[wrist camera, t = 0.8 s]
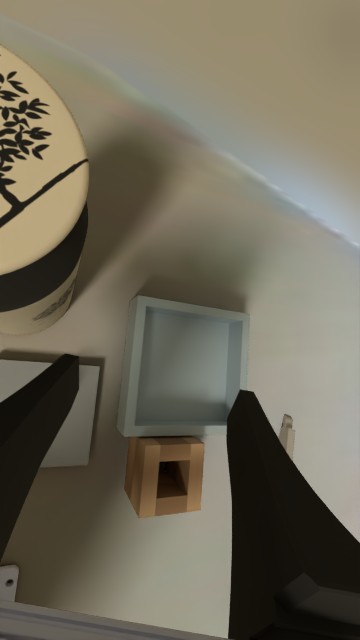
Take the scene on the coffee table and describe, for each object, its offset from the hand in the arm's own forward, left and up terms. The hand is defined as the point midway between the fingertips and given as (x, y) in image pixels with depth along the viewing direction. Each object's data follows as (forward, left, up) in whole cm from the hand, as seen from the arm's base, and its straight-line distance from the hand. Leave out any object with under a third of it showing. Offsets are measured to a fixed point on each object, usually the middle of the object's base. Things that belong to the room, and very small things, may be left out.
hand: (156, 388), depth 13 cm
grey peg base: (-4, +5, -14) cm, 16 cm away
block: (-8, -5, -14) cm, 17 cm away
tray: (+1, -7, -14) cm, 16 cm away
